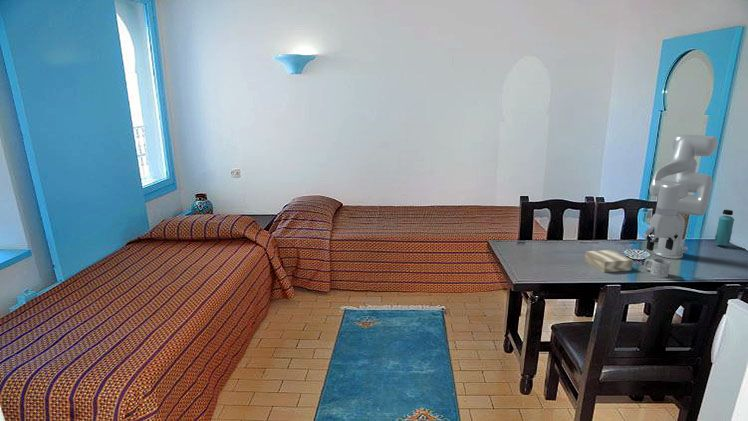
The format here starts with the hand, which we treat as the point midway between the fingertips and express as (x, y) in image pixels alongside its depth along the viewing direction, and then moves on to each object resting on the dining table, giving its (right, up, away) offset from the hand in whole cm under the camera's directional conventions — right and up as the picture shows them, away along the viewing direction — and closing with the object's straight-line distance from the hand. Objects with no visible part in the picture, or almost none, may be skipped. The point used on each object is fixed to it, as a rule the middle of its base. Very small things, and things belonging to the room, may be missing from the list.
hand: (659, 249), depth 192 cm
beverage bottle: (+58, -2, +38) cm, 70 cm away
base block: (-16, -9, +13) cm, 22 cm away
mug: (+1, -11, +4) cm, 12 cm away
